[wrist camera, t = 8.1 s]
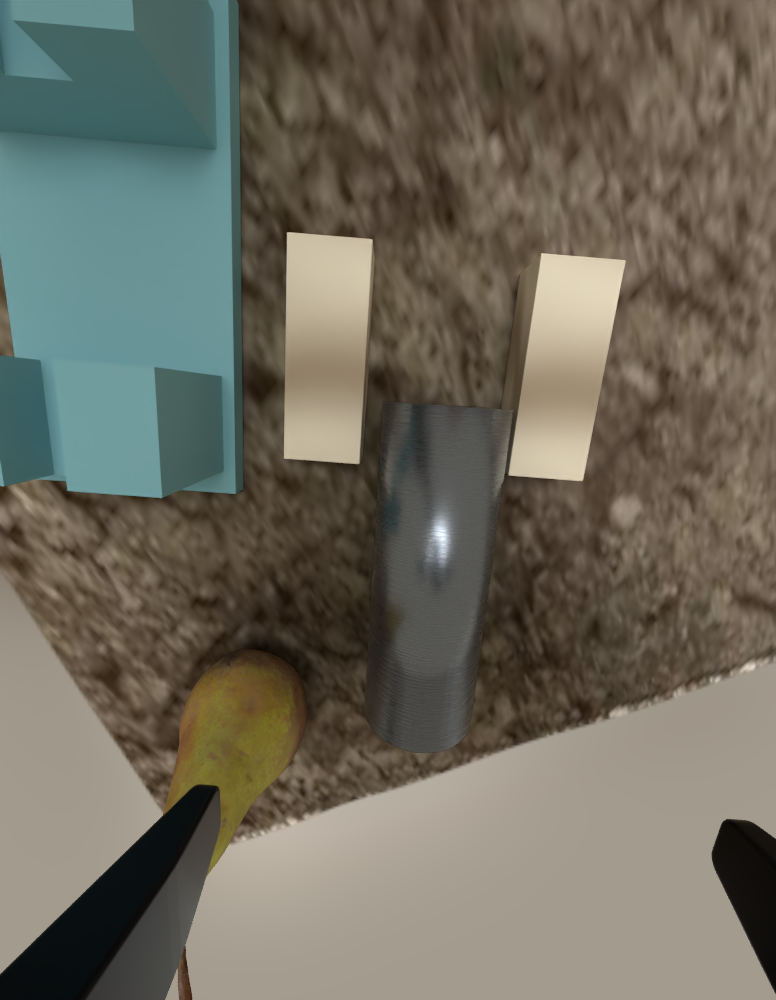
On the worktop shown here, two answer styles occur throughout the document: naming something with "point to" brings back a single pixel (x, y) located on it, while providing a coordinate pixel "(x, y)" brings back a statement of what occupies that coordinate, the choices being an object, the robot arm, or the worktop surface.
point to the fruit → (237, 740)
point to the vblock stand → (121, 245)
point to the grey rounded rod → (432, 568)
